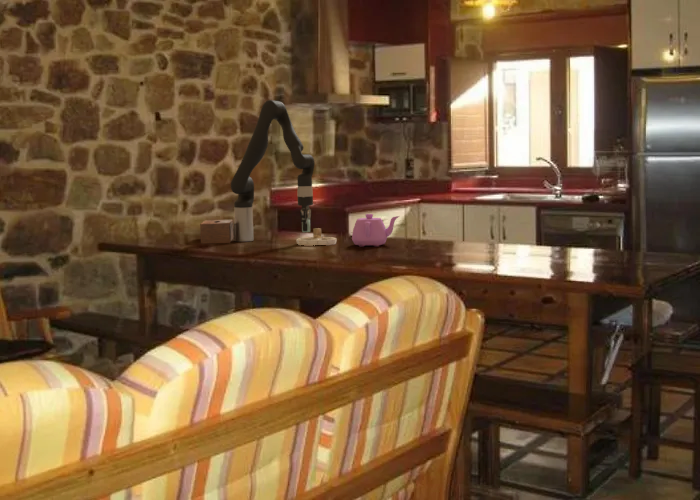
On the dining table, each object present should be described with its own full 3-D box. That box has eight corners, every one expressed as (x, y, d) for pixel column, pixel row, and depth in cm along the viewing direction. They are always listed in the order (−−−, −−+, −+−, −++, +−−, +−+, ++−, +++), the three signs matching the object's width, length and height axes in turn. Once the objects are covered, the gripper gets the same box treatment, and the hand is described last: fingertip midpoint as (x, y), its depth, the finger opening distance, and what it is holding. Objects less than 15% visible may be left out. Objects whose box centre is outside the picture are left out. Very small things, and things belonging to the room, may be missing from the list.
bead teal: (309, 232, 457) (309, 220, 456) (301, 232, 458) (301, 220, 457) (311, 231, 461) (310, 219, 460) (303, 231, 461) (302, 219, 461)
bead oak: (314, 240, 466) (314, 228, 466) (322, 240, 465) (321, 228, 465) (312, 241, 462) (312, 229, 462) (320, 241, 462) (320, 229, 461)
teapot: (349, 248, 436) (349, 216, 435) (354, 243, 457) (353, 212, 455) (398, 248, 434) (398, 215, 432) (400, 243, 455) (400, 212, 453)
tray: (293, 245, 451) (292, 240, 451) (302, 241, 470) (302, 236, 470) (331, 245, 448) (331, 240, 447) (339, 241, 466) (339, 236, 466)
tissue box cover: (229, 243, 472) (229, 223, 471) (200, 243, 472) (200, 224, 471) (233, 238, 498) (232, 219, 497) (206, 238, 497) (205, 220, 496)
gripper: (301, 194, 465) (302, 229, 467) (294, 196, 451) (295, 232, 453) (315, 194, 463) (316, 229, 465) (309, 196, 450) (310, 231, 451)
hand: (306, 230), depth 459 cm, fingers closed on bead teal, 4 cm apart
